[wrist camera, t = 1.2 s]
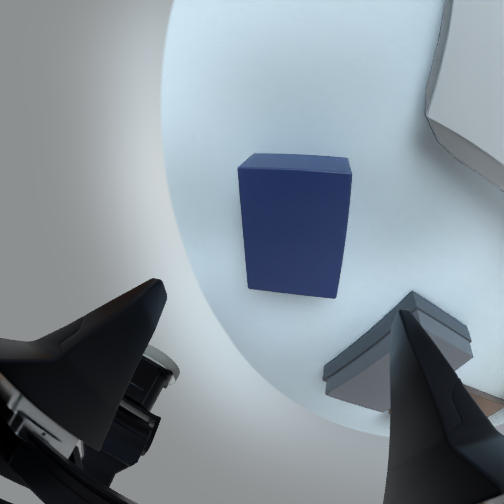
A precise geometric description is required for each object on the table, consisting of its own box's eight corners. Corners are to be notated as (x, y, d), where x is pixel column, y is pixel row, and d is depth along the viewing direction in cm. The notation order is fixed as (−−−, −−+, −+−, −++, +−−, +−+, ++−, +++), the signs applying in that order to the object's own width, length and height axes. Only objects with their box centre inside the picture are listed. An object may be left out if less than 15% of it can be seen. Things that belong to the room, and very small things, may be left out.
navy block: (336, 269, 16) (335, 299, 14) (259, 260, 18) (247, 289, 16) (348, 157, 13) (352, 173, 10) (252, 153, 14) (236, 167, 12)
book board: (465, 424, 25) (465, 429, 24) (388, 406, 24) (388, 413, 24) (504, 400, 20) (505, 405, 19) (442, 375, 20) (443, 383, 19)
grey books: (382, 387, 23) (381, 415, 20) (324, 366, 22) (319, 396, 20) (467, 326, 16) (476, 357, 13) (412, 290, 16) (420, 325, 13)
